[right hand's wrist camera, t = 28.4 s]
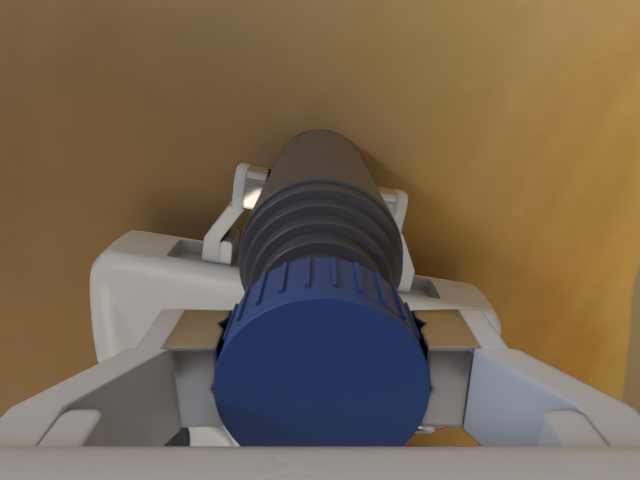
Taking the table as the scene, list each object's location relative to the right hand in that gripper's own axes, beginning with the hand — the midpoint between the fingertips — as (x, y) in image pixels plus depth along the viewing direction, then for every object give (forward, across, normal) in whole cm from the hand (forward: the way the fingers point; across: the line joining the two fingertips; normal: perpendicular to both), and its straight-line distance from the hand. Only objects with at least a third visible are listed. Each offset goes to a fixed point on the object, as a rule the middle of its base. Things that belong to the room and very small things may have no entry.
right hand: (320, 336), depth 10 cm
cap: (-2, 0, 0) cm, 2 cm away
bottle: (+17, 0, 0) cm, 17 cm away
